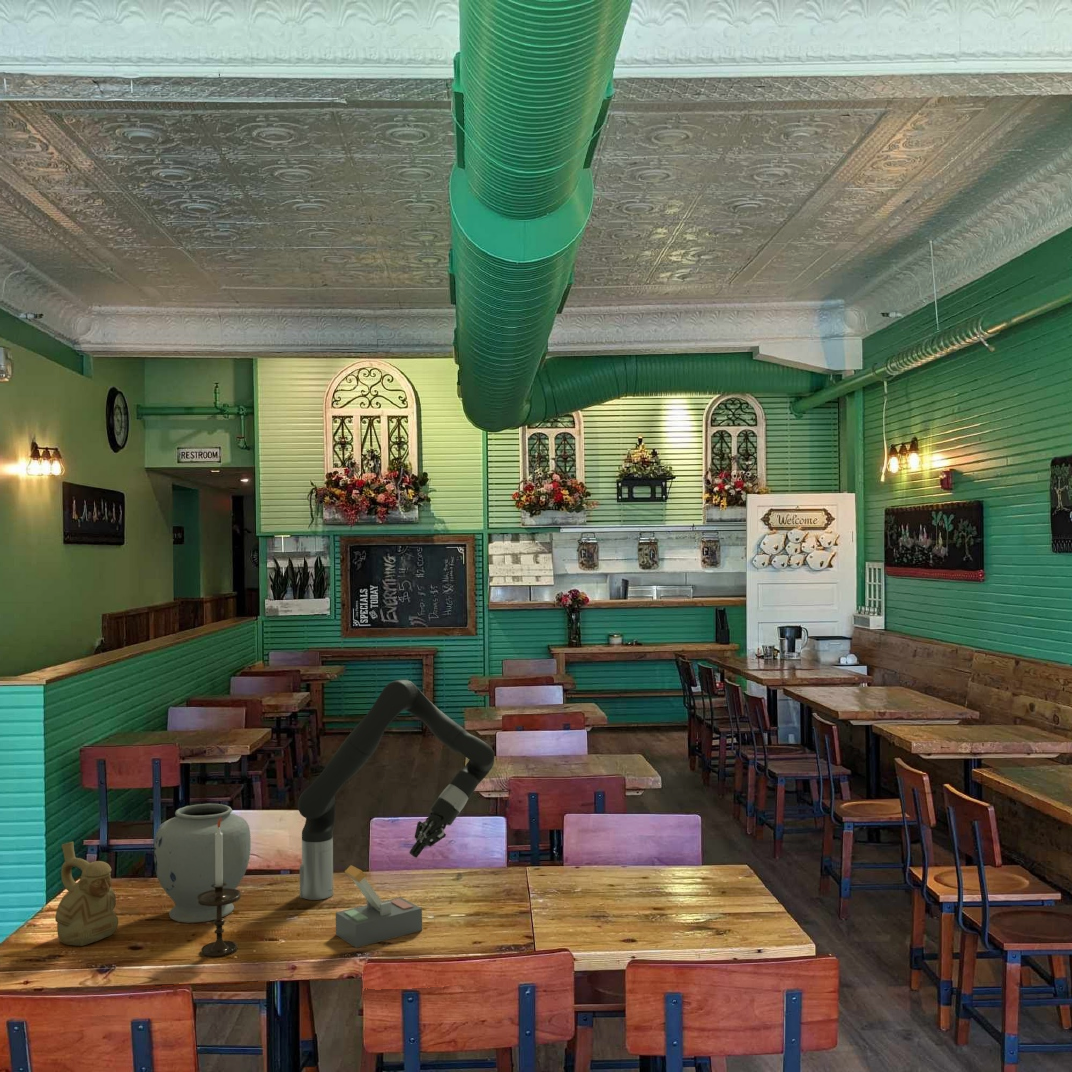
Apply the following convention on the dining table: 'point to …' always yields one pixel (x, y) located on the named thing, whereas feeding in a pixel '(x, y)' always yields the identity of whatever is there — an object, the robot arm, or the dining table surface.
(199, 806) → the ceramic vase
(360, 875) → the lever
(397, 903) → the switch box
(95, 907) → the ceramic vessel
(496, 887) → the dining table surface
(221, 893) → the candlestick
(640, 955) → the dining table surface
